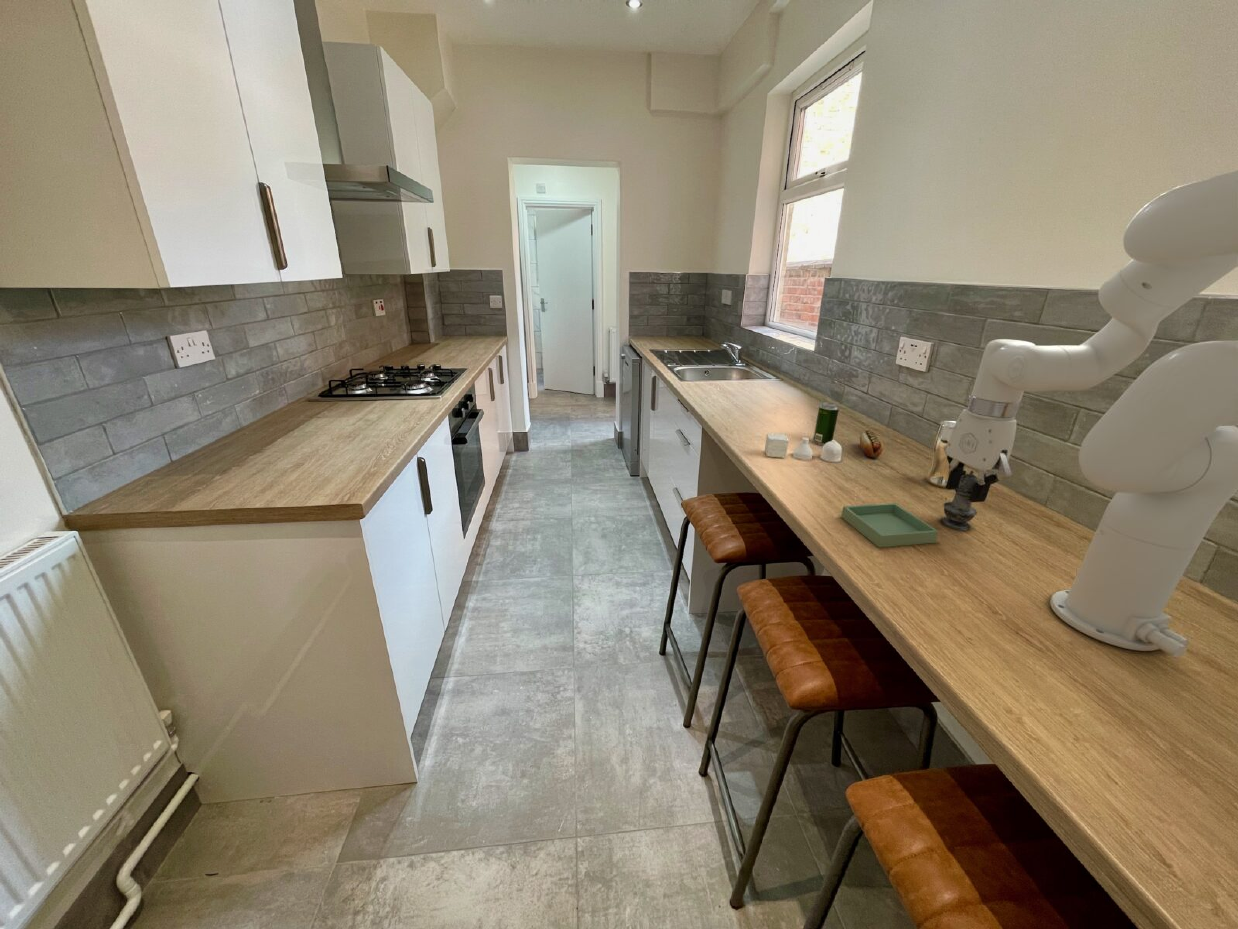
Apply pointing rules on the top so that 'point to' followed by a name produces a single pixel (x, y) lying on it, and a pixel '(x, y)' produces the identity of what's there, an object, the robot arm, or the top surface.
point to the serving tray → (889, 525)
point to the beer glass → (940, 456)
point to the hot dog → (871, 443)
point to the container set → (801, 448)
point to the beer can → (825, 423)
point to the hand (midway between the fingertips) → (964, 494)
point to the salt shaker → (960, 505)
